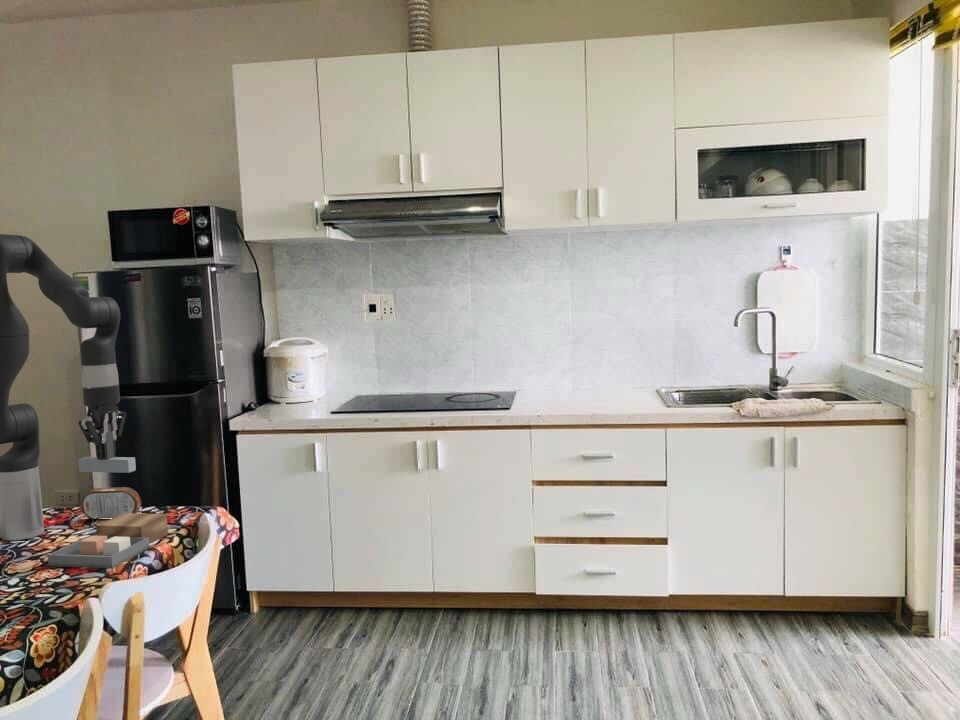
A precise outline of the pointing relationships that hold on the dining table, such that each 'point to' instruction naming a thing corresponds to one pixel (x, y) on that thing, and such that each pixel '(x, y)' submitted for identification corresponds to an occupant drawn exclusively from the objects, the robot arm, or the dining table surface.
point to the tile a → (92, 544)
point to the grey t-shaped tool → (107, 460)
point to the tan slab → (135, 526)
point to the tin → (110, 502)
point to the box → (96, 555)
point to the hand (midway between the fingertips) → (106, 457)
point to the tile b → (115, 545)
